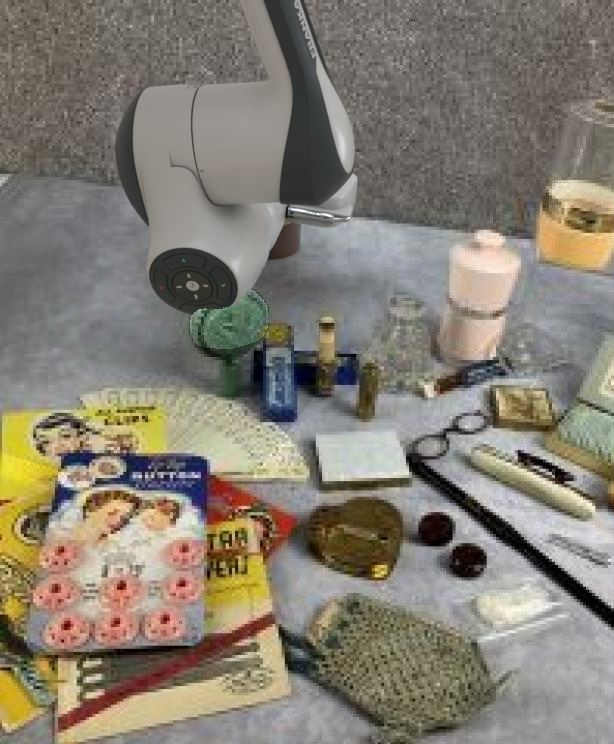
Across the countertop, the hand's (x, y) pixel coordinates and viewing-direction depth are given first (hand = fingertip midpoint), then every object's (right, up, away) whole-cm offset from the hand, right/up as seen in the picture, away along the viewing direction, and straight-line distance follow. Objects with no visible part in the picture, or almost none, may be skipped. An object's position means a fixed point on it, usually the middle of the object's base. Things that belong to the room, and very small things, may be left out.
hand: (269, 154), depth 99 cm
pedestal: (-2, -9, +5) cm, 10 cm away
